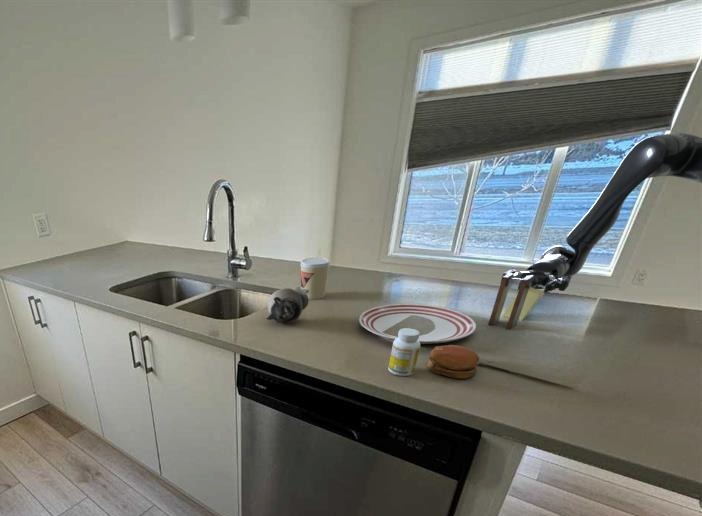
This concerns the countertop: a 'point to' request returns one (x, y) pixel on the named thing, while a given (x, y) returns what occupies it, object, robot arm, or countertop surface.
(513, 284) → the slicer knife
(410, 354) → the supplement bottle
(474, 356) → the burger
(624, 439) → the countertop surface
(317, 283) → the coffee cup
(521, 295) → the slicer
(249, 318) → the countertop surface
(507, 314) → the butter
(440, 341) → the dinner plate
